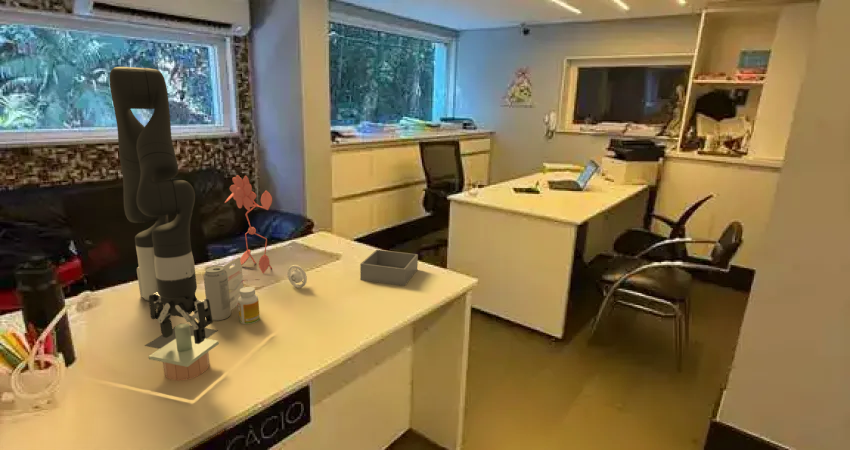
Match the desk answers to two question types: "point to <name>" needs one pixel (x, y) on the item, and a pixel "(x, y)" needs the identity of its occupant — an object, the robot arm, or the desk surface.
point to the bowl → (186, 369)
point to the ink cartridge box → (234, 281)
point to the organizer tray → (389, 274)
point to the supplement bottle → (248, 306)
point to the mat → (163, 341)
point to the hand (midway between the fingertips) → (183, 339)
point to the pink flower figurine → (243, 197)
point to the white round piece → (297, 276)
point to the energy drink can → (217, 292)
